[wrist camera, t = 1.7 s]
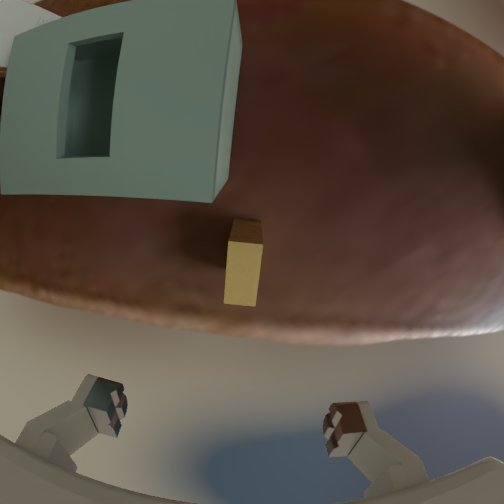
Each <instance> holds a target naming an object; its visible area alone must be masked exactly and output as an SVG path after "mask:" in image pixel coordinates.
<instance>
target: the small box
mask: <svg viewBox="0 0 504 504" xmlns="http://www.w3.org/2000/svg"><path fill="white" fill-rule="evenodd" d="M60 18H63V17H60V16H58V15H56V14H54V13H52V12H50V11H47V10H45V9H43V8H41V7H39V6H36V5H34V4H31V3H29V2H27V1H24V0H0V77H5V78H6V73H7V68H8V62H9V57H10V53H11V48H12V44H13V40H14V36H16V35H19V34H21V33H23V32H26V31H28V30H30V29H33V28H35V27H38V26H40V25H43V24H46V23H48V22H51V21H54V20H57V19H60Z"/></svg>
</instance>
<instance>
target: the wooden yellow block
mask: <svg viewBox="0 0 504 504" xmlns="http://www.w3.org/2000/svg"><path fill="white" fill-rule="evenodd" d="M262 250H263V235H262V222H261V221H253V220H243V219H234V221H233V225H232V229H231V233H230V237H229V241H228V252H227V266H226V280H225V294H224V303H225V304H235V305H245V306H256V298H257V290H258V282H259V274H260V266H261V258H262Z"/></svg>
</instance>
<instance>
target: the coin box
mask: <svg viewBox="0 0 504 504" xmlns="http://www.w3.org/2000/svg"><path fill="white" fill-rule="evenodd" d="M242 48H243V43H242V36H241V29H240V21H239V14H238V7H237V0H132V1H126V2H121V3H116V4H111V5H107V6H102V7H98V8H94V9H90V10H86V11H83V12H79V13H76V14H72V15H69V16H66V17H63V18H60V19H57V20H54V21H51V22H48V23H46V24H43V25H40V26H38V27H35V28H33V29H30V30H28V31H26V32H23V33H21V34H19V35H16V36H14V40H13V44H12V48H11V53H10V57H9V62H8V68H7V73H6V79H5V86H4V94H3V102H2V112H1V126H0V185H1V194H45V195H88V196H113V197H133V198H151V199H166V200H180V201H193V202H206V203H212V202H213V201H214V199H215V198H216V196H217V195H218V193H219V192H220V190H221V189H222V187H223V186H224V184H225V183H226V181H227V180H228V178H229V167H230V156H231V146H232V136H233V126H234V116H235V107H236V98H237V89H238V81H239V72H240V64H241V56H242Z"/></svg>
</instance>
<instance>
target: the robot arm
mask: <svg viewBox="0 0 504 504" xmlns="http://www.w3.org/2000/svg"><path fill="white" fill-rule="evenodd" d="M123 391H124V386H123V384H122V383H118V382H115V381H111V380H107V379H104V378H100V377H97V376H93V375H90V374H88V375H87V376H86V377H85V378H84V380H83V381H82V383H81V385H80V387H79V388H78V390H77V392H76V394H75V396H74V397H73V399H72V401H66V402H65V403H63V404H61V405H59V406H57V407H55V408H53V409H51V410H49V411H48V412H46V413H44V414H42V415H40V416H38V417H36V418H34V419H32V420H30V421H28V422H27V424H26V425H25V427H24V429H23V430H22V432H21V434H20V436H19V437H18V439H17V441H16V443H13V442H11V441H10V440H8V439H6V438H5V437H3V436H1V435H0V504H196V503H188V502H182V501H176V500H170V499H165V498H160V497H155V496H150V495H146V494H142V493H138V492H134V491H130V490H127V489H123V488H119V487H116V486H113V485H109V484H106V483H103V482H100V481H97V480H94V479H92V478H89V477H86V476H83V475H81V474H78V473H76V470H77V466H76V464H75V463H74V461H73V460H72V459H71V457H70V455H71V454H73V453H74V452H75V451H76V450H78V449H79V448H81V447H82V446H83V445H84V444H85V443H87V442H88V441H90V440H91V439H92V438H94V437H95V436H96V435H97V434H98V433H101V434H105V435H108V436H112V437H118V434H119V431H120V429H121V422H120V420H121V419H123V418H124V417H125V415H126V412H127V405H128V404H127V397H126V396H125V395H124V394H123ZM329 411H330V413H328V414H327V415H326V416H325V418H324V421H323V434H324V436H325V437H326V438H327V439H328V441H327V443H326V448H327V453H328V457H339V456H348V458H349V459H350V460H351V461H352V462H353V463H354V464H355V465H356V466H357V467H358V468H359V469H360V470H361V472H363V474H364V475H366V477H367V478H368V479H369V480H370V481H371V482H372V483H373V484H372V485H371V486H370V487H369V488H368V489H367V490H366V491H365V492H364V497H365V498H364V499H359V500H353V501H348V502H341V503H334V504H504V463H503V462H501V461H499V460H498V459H496V458H493V457H486V458H484V459H482V460H480V461H477V462H475V463H473V464H471V465H469V466H467V467H465V468H462V469H460V470H457V471H455V472H452V473H450V474H447V475H445V476H442V477H439V478H436V479H434V480H431V481H429V479H428V476H427V474H426V471H425V469H424V466H423V464H422V461H421V459H420V458H419V457H418V456H417V455H415V454H414V453H412V452H411V451H410V450H408V449H407V448H406V447H404V446H403V445H402V444H400V443H399V442H398V441H396V440H395V439H394V438H392V437H391V436H390V435H388V434H387V433H386V432H385V431H383V430H379V428H378V425H377V422H376V419H375V417H374V414H373V412H372V409H371V406H370V404H369V402H368V401H360V402H342V403H332V404H331V405H330V407H329Z"/></svg>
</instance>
